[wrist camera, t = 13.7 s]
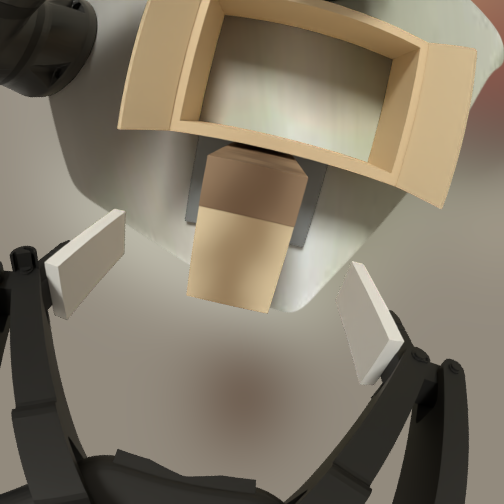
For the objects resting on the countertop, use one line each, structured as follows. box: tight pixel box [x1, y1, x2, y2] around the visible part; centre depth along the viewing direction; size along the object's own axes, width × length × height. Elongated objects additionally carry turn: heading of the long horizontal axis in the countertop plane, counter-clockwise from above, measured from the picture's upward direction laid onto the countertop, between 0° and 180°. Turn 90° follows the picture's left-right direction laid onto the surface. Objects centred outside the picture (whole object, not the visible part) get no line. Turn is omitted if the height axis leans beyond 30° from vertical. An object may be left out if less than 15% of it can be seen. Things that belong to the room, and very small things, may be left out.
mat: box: [185, 135, 328, 247], centre depth 32 cm, size 14×10×1 cm
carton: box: [117, 0, 477, 209], centre depth 21 cm, size 26×15×12 cm, turn 78°
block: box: [187, 142, 308, 313], centre depth 25 cm, size 6×10×14 cm, turn 168°
